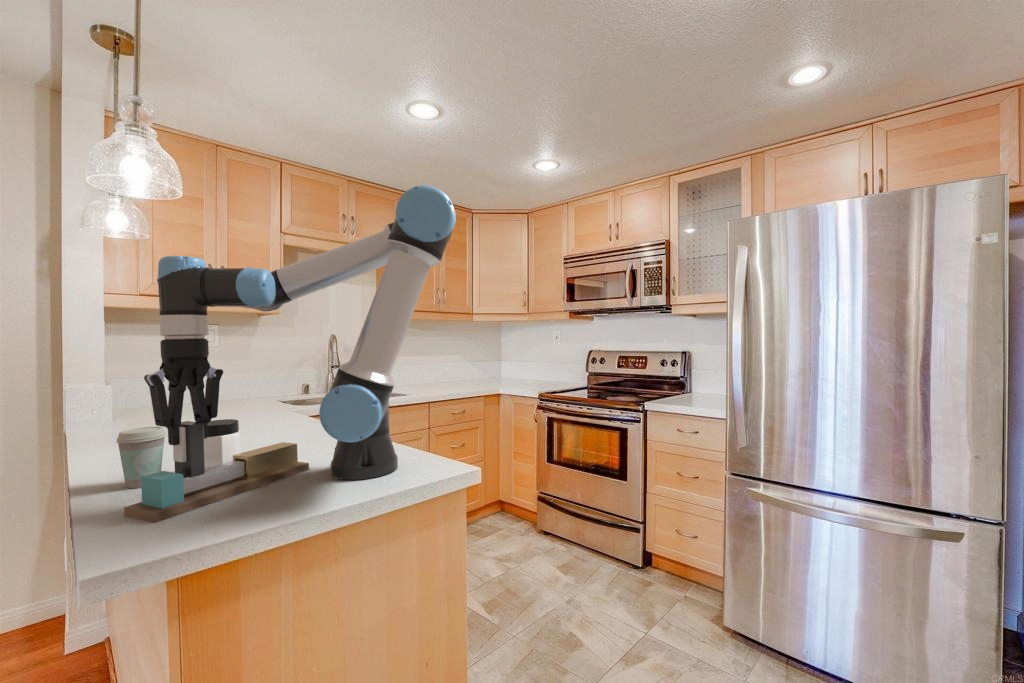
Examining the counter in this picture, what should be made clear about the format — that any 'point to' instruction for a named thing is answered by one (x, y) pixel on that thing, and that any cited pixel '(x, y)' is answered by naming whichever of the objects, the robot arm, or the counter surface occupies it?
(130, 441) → the coffee cup
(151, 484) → the teal socket
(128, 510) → the walnut board
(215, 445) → the jar
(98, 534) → the counter surface
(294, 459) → the brass sleeve
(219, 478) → the steel bar
